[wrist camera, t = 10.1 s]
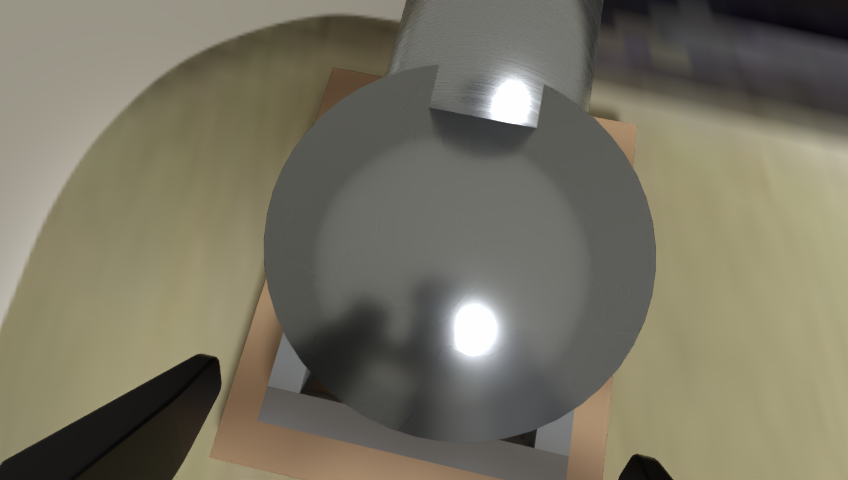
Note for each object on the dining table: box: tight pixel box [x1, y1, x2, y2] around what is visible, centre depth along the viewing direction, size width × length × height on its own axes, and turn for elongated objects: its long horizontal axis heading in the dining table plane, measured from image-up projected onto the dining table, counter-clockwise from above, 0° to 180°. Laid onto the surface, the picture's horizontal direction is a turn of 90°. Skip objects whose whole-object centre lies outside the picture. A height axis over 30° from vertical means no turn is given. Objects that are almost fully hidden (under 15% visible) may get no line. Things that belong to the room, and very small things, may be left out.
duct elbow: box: [264, 0, 656, 442], centre depth 13 cm, size 10×6×12 cm, turn 168°
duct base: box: [209, 68, 637, 480], centre depth 18 cm, size 18×15×3 cm
